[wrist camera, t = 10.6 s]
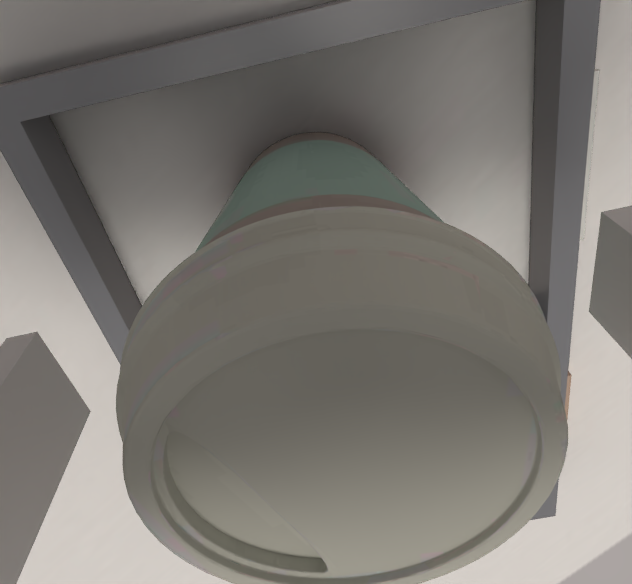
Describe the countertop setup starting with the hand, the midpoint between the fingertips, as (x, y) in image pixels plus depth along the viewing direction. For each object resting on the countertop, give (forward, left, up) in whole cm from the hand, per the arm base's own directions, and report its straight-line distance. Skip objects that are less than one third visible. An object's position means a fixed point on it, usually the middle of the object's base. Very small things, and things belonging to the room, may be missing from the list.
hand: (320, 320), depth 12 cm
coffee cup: (0, 0, -8) cm, 8 cm away
